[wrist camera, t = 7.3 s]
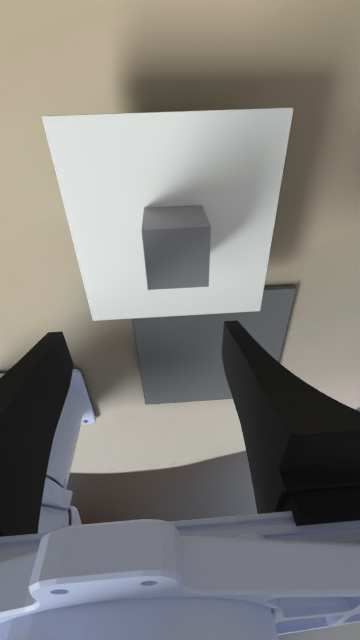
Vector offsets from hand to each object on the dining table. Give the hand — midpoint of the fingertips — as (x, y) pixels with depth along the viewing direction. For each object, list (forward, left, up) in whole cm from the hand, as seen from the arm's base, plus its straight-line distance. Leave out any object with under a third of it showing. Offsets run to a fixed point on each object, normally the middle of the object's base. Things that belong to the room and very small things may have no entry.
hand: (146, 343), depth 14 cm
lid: (+2, +3, -6) cm, 7 cm away
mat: (+5, -10, -10) cm, 15 cm away
